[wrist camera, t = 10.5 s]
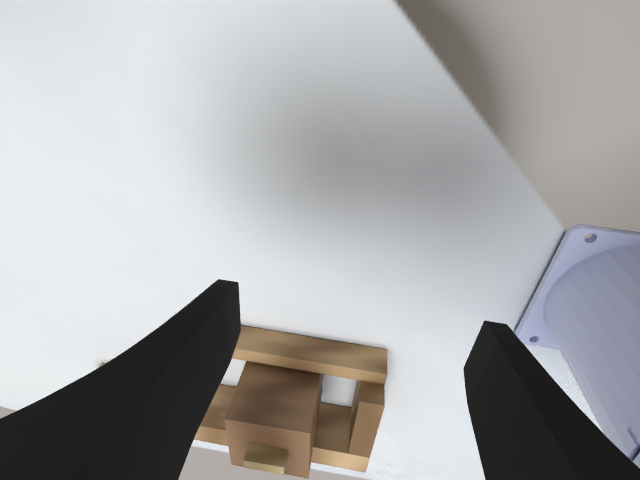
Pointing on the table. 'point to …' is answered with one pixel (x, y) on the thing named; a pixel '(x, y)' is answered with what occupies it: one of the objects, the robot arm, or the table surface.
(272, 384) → the cabinet
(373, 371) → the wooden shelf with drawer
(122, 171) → the table surface
